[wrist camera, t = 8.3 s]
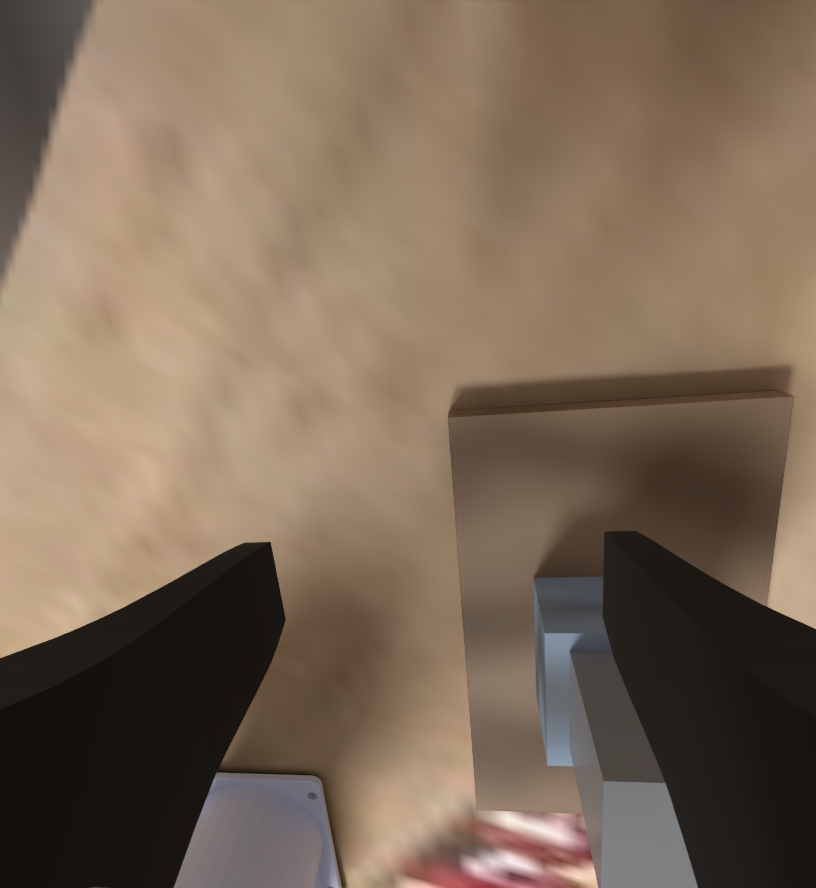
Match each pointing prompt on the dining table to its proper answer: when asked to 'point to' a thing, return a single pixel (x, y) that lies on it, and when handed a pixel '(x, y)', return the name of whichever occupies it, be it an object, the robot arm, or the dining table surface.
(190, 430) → the dining table surface
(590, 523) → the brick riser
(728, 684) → the robot arm
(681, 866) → the gray brick
